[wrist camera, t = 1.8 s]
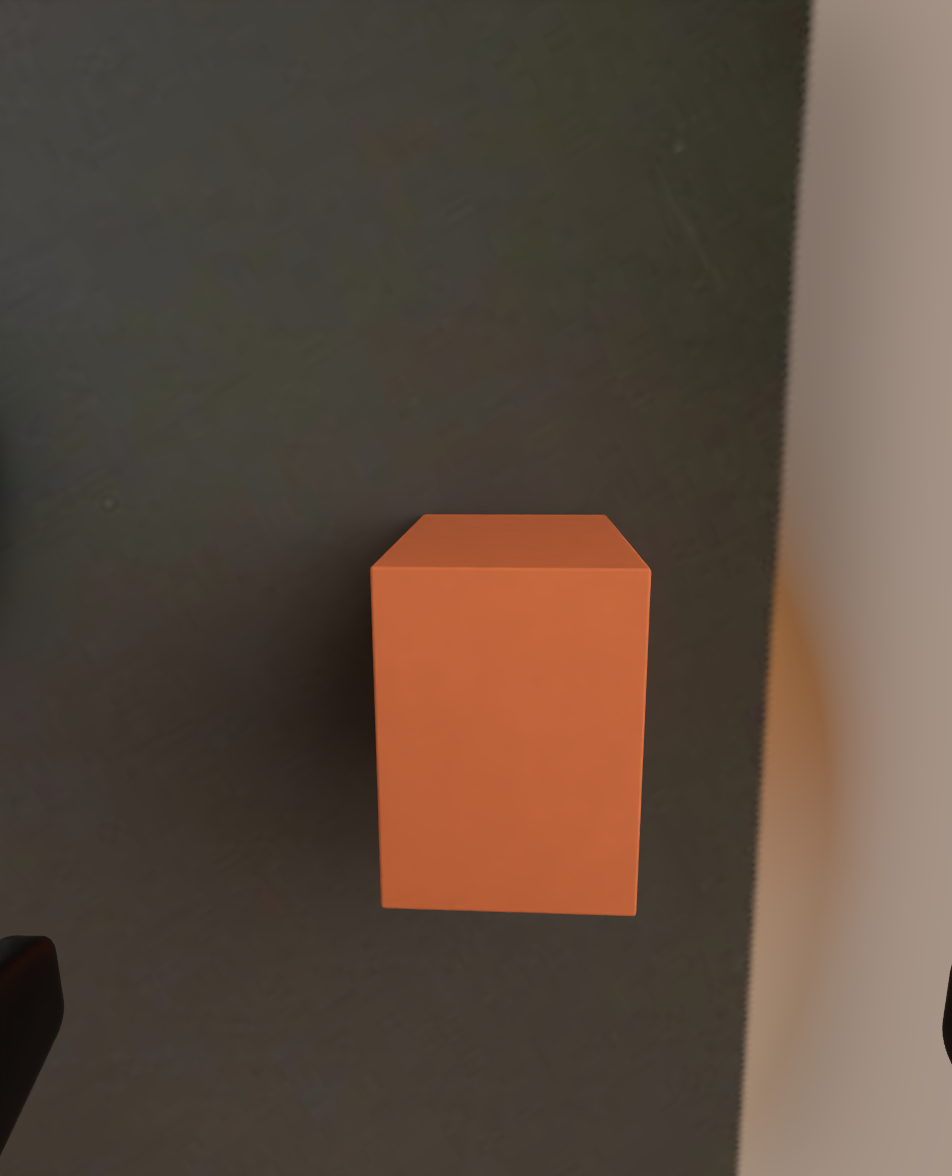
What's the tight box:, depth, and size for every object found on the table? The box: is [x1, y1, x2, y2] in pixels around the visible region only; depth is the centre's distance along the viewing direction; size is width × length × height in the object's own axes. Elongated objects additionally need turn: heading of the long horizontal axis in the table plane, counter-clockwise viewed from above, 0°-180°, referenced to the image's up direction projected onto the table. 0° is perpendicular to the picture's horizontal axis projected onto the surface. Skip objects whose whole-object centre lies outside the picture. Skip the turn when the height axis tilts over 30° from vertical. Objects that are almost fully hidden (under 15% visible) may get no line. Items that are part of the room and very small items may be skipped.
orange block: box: [370, 514, 651, 916], centre depth 17 cm, size 6×4×7 cm
